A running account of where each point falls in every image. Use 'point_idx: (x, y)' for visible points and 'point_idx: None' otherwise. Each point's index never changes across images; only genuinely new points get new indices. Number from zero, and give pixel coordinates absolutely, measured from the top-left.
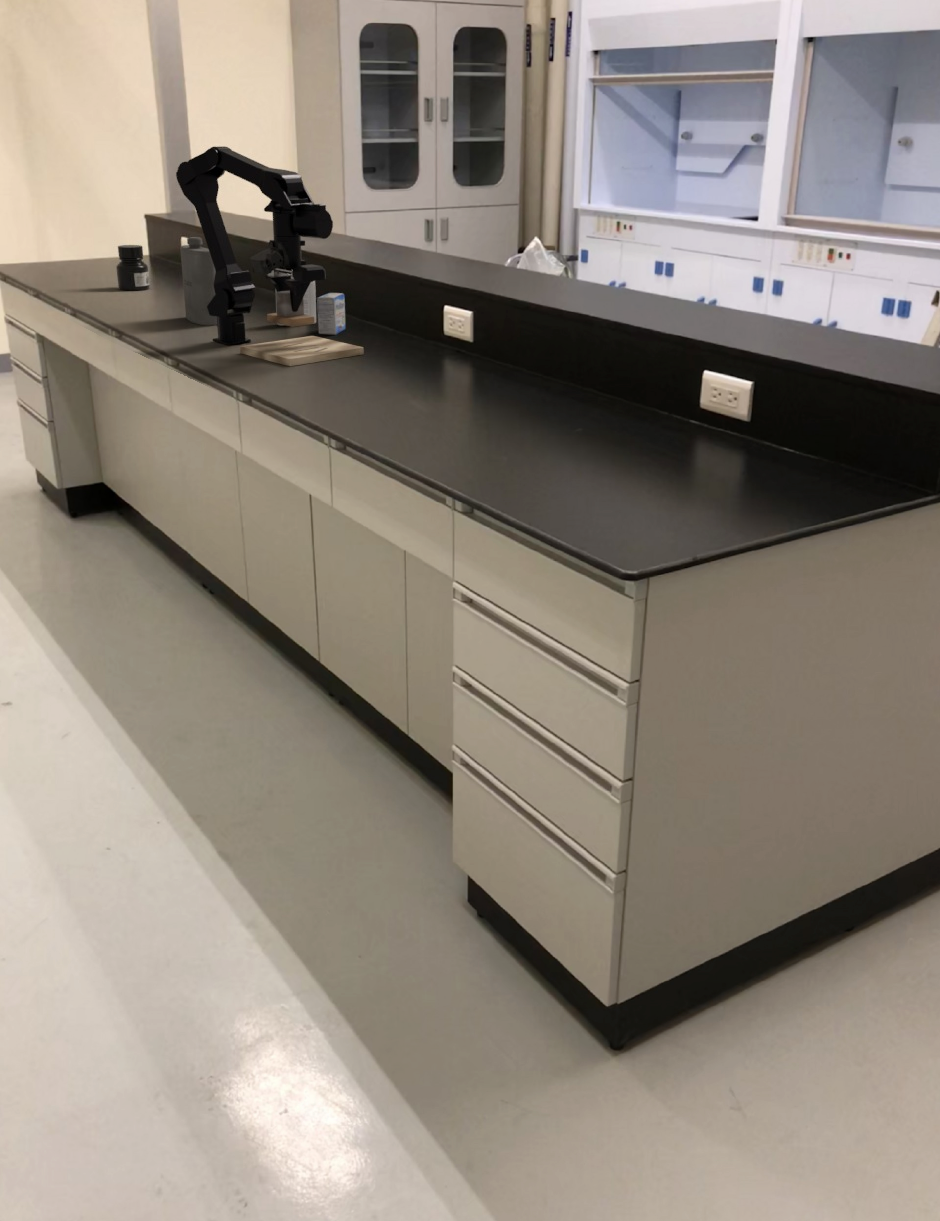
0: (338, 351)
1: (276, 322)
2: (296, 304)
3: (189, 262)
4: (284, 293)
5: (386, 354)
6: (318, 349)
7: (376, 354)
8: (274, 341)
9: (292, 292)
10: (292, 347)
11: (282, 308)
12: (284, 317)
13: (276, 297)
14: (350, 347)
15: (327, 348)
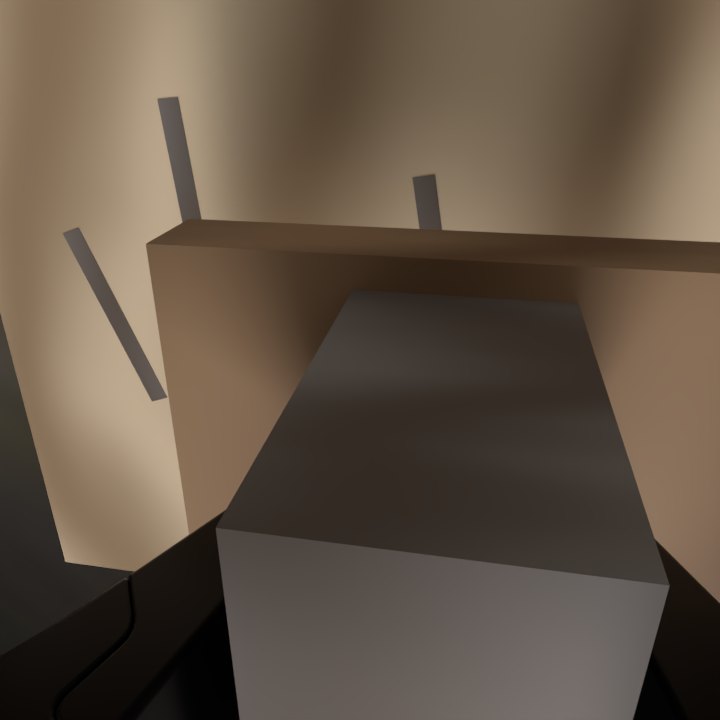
0: (16, 372)
1: (546, 236)
2: None
3: None
4: (235, 542)
5: (30, 597)
6: (148, 319)
7: (54, 568)
8: None
9: (51, 647)
10: (342, 213)
11: (399, 345)
12: (357, 276)
13: (615, 469)
14: (100, 512)
15: (147, 391)
